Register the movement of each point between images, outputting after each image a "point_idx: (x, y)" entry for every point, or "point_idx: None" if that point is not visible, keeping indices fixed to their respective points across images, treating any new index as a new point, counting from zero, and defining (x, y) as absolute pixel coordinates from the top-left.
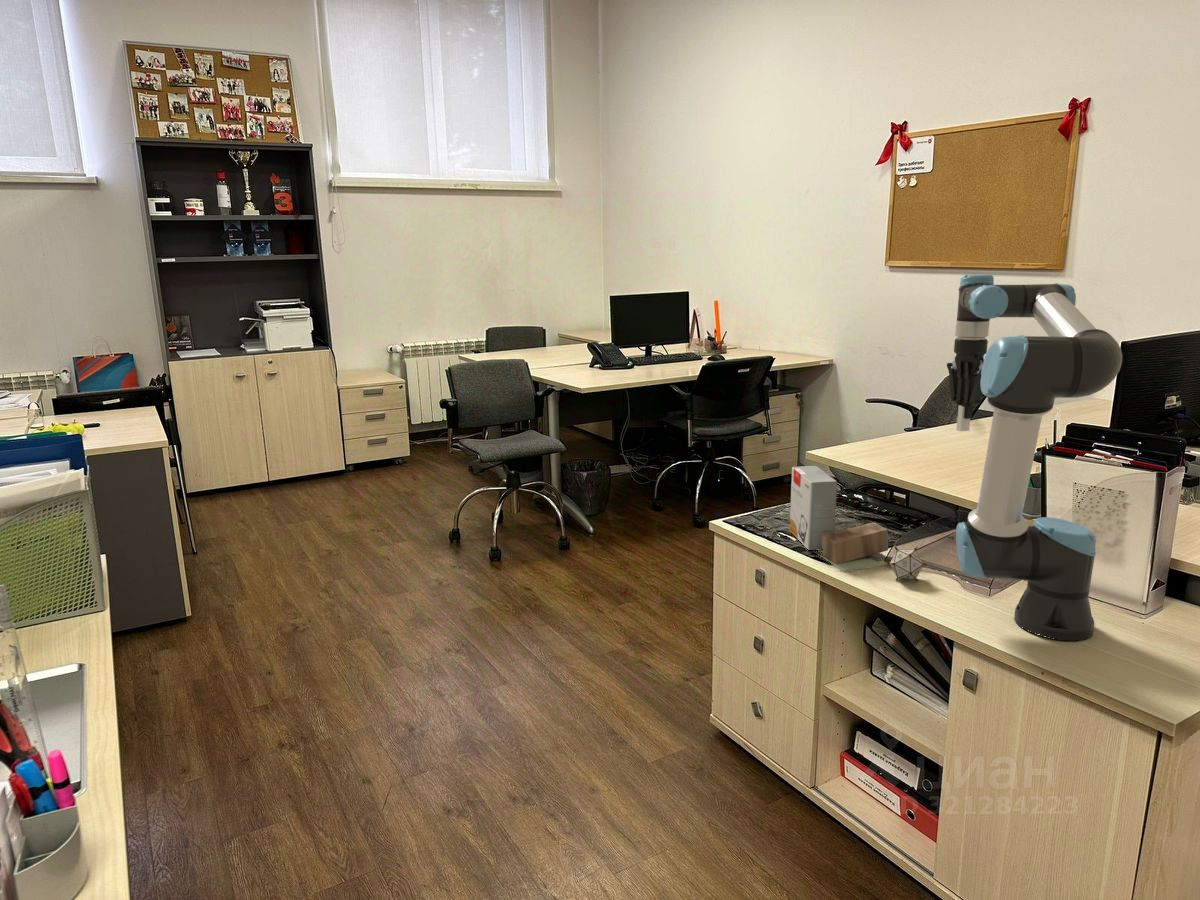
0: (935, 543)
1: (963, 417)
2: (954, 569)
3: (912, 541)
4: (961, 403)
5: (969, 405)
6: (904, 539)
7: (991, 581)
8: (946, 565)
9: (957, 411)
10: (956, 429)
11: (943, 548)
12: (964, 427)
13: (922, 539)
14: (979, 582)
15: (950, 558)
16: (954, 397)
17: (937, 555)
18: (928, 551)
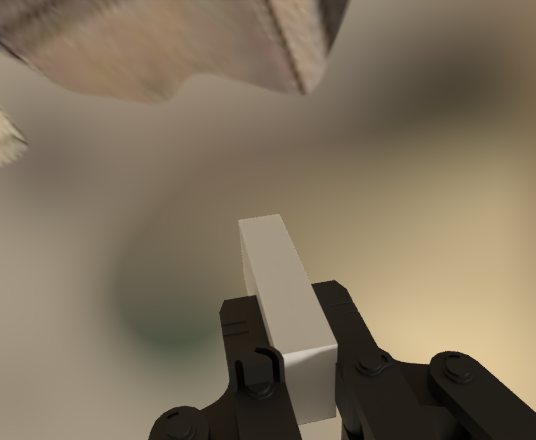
0: (288, 77)
1: (256, 294)
2: (106, 5)
3: (320, 25)
4: (340, 380)
5: (220, 402)
6: (340, 12)
7: (10, 50)
8: (138, 2)
9: (347, 308)
10: (278, 216)
11: (251, 75)
12: (245, 261)
13: (323, 62)
14: (5, 12)
15: (183, 48)
16: (443, 388)
17: (211, 26)
18: (243, 21)
